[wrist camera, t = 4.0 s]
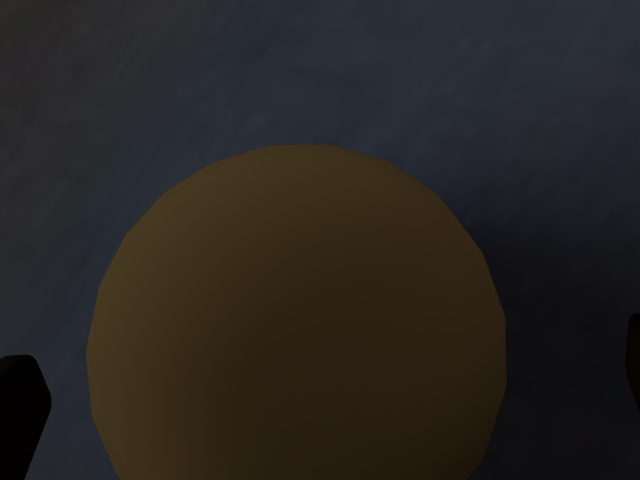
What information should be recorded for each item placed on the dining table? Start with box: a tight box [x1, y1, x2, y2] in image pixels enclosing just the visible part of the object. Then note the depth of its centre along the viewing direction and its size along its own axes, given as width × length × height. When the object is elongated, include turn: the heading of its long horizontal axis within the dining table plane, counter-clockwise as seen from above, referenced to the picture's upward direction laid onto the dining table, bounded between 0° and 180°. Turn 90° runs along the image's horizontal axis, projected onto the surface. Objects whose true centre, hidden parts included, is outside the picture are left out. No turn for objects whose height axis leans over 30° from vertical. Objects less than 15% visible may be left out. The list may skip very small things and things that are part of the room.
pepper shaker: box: [86, 145, 507, 480], centre depth 11 cm, size 6×6×11 cm
